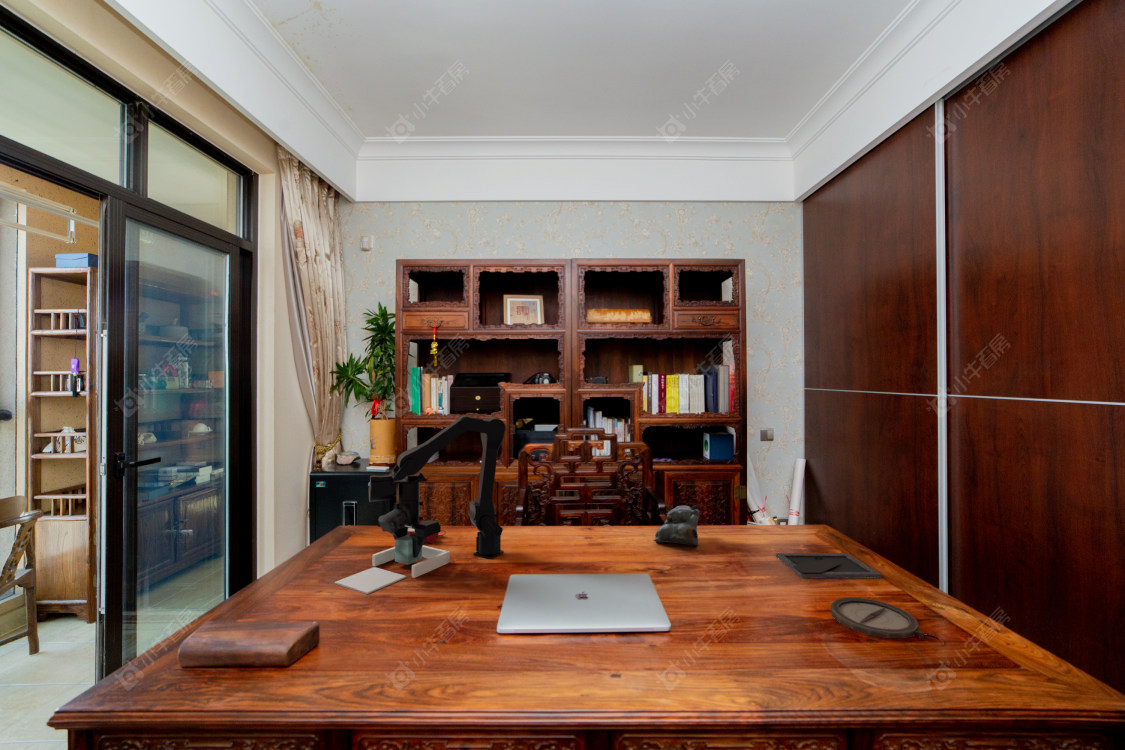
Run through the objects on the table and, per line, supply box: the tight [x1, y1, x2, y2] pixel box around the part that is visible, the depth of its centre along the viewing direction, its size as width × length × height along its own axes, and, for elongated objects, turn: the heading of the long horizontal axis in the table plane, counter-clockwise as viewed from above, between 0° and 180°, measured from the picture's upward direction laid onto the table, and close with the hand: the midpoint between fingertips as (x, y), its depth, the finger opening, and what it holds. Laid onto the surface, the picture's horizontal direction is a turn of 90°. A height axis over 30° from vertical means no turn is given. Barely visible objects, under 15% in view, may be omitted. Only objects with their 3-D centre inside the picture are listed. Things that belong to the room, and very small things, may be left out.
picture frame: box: [775, 552, 882, 579], centre depth 145 cm, size 16×2×21 cm
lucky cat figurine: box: [652, 504, 701, 548], centre depth 164 cm, size 15×12×14 cm
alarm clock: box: [407, 524, 447, 544], centre depth 166 cm, size 10×6×15 cm
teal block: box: [394, 534, 423, 565], centre depth 143 cm, size 5×5×6 cm
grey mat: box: [334, 566, 407, 595], centre depth 133 cm, size 12×12×1 cm
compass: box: [830, 597, 939, 639], centre depth 112 cm, size 20×16×2 cm
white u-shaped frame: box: [371, 544, 451, 579], centre depth 144 cm, size 16×13×3 cm
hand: (408, 555), depth 143 cm, fingers closed on teal block, 5 cm apart
